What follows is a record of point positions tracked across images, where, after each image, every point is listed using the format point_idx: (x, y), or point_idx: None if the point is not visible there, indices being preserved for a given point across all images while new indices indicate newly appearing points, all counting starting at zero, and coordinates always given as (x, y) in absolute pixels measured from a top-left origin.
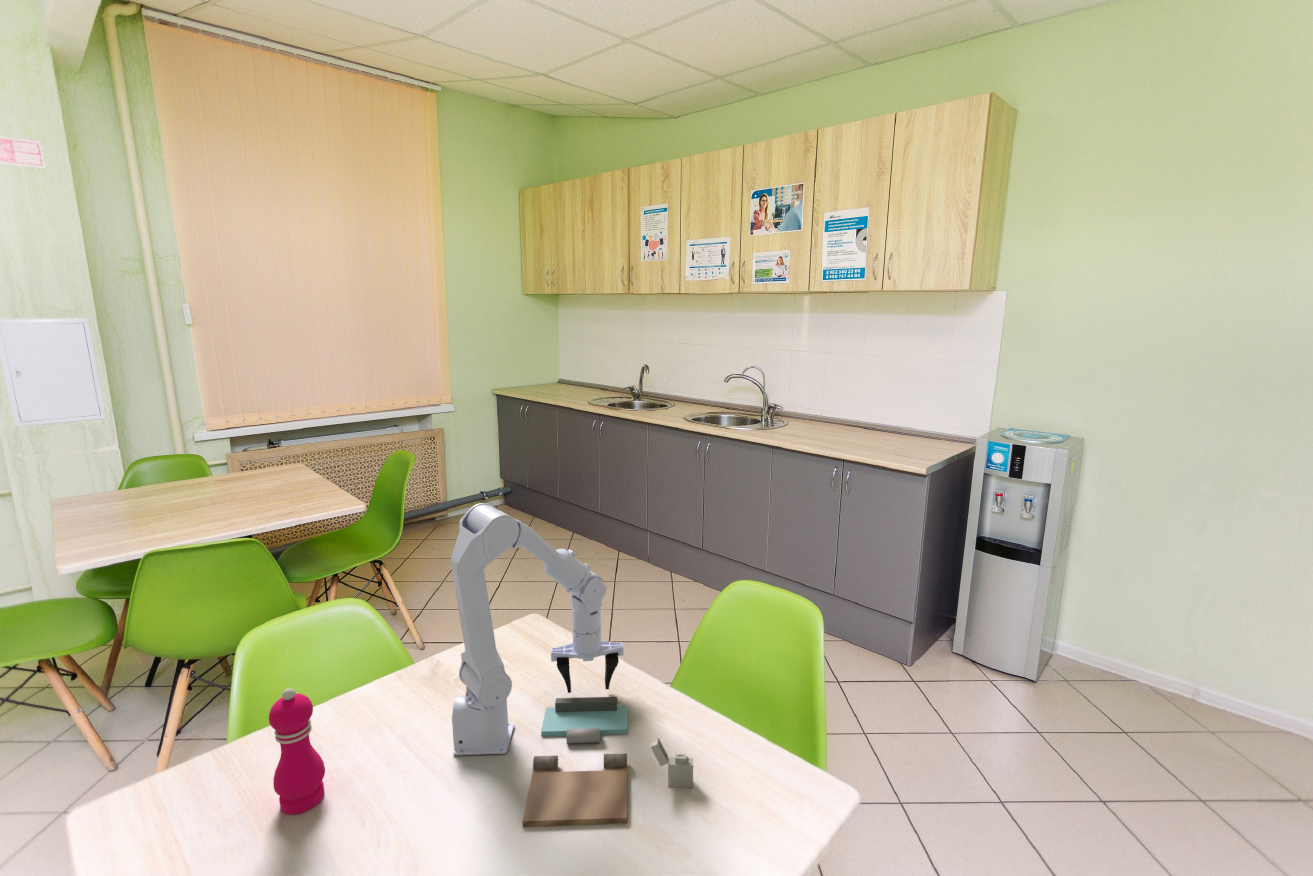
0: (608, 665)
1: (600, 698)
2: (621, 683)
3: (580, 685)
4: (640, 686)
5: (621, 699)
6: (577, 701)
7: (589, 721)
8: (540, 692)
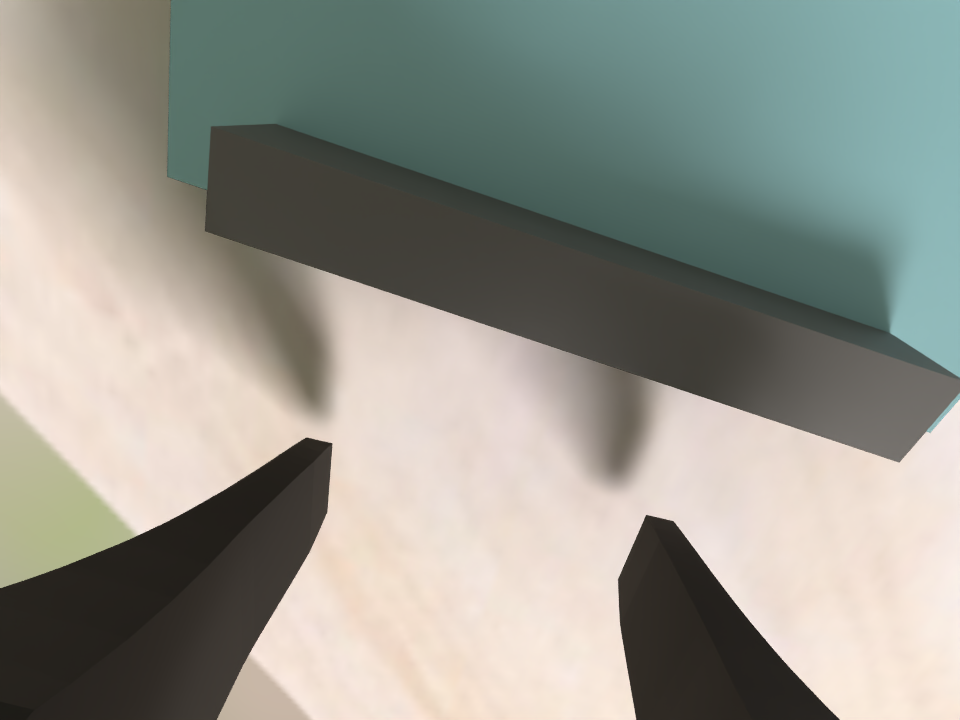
0: (36, 677)
1: (404, 269)
2: None
3: (512, 583)
4: (82, 420)
5: (236, 328)
6: (693, 313)
7: (614, 28)
8: (818, 622)
